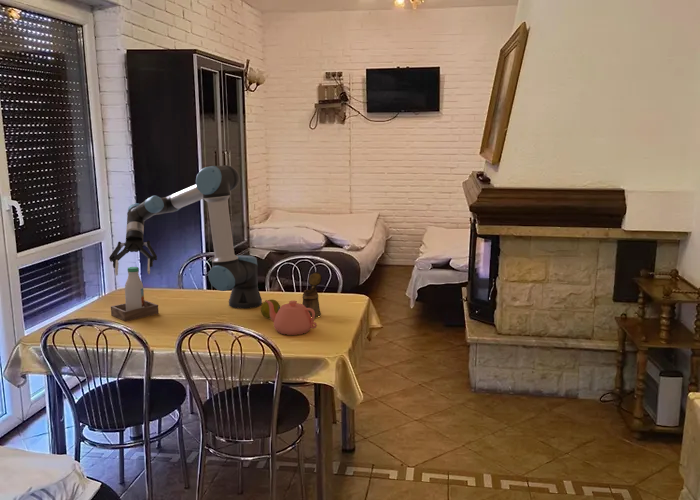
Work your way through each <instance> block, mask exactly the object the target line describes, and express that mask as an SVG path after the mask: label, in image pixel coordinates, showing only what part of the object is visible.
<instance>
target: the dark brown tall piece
mask: <svg viewBox="0 0 700 500" xmlns="http://www.w3.org/2000/svg"><path fill="white" fill-rule="evenodd" d="M322 280H323V276H322V274H321V273H320V272H318V271H315V272H313V273H311V274H310V275H309V277H308V284H309V285H310V288H309V289H305V290H303V293H302V303H301V304H303V305H304V306H305V307H306V308H311V309H313V310H314V312H315V317H318V316H320V315H321V316H322V313H321V312H322V311H321V309H320V301H319V293H318V290H317V286H319V285H320V284H321V283H322ZM308 312H309V313H310V315H311V317H312V312H311V311H309V310H308ZM321 316H320V317H321Z"/></svg>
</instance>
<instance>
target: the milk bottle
mask: <svg viewBox="0 0 700 500" xmlns="http://www.w3.org/2000/svg"><path fill="white" fill-rule="evenodd" d="M139 270H140V269H139V267H138V266H130V267H127V274H128V275H127V279H126V281H125V284H124V297H125V303H126V311H129V310H134V309H139V308H144V300H145V294H144V292H145V291H144V284H143V281H142V279H141V277H140V275H139V273H140V271H139Z"/></svg>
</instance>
